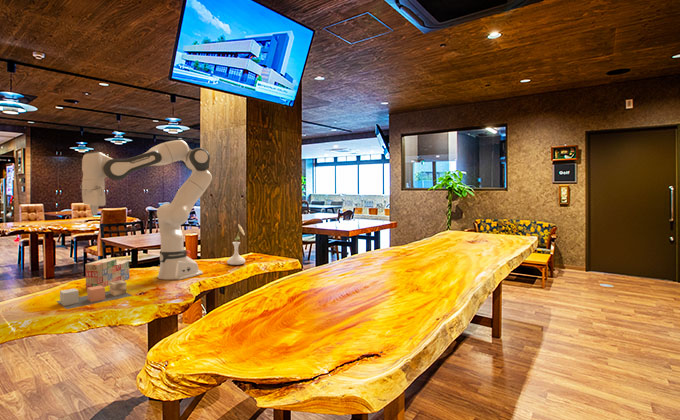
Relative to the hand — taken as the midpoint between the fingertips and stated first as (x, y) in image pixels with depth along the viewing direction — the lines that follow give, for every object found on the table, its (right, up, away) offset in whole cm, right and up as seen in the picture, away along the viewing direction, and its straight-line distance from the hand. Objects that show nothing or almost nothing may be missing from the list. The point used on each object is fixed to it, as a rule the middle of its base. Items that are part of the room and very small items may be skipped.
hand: (94, 214), depth 175 cm
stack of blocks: (+5, -35, +3) cm, 35 cm away
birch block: (+19, -35, -13) cm, 42 cm away
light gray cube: (+8, -36, -26) cm, 45 cm away
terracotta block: (+15, -36, -21) cm, 44 cm away
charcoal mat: (+14, -36, -20) cm, 44 cm away
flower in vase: (+54, -32, +53) cm, 82 cm away
